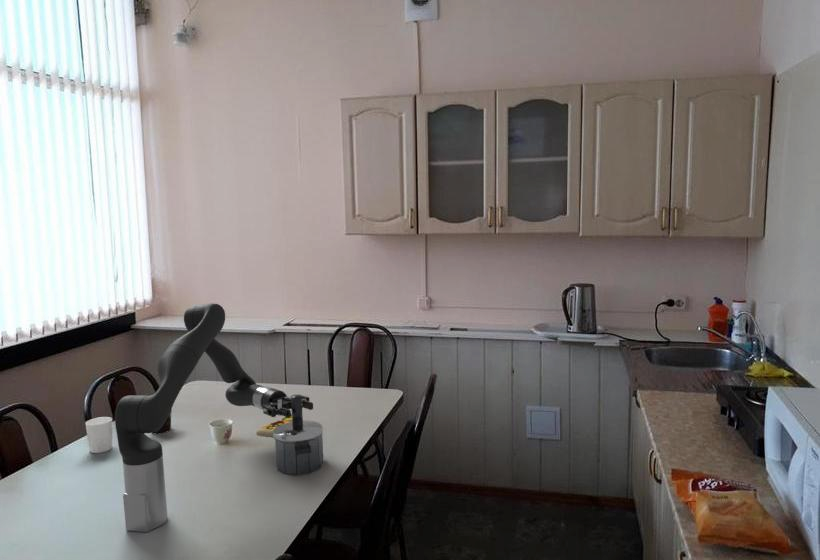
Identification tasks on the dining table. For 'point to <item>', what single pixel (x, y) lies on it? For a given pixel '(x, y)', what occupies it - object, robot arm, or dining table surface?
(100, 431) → the white cup
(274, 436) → the lid
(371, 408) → the dining table surface
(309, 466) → the pot
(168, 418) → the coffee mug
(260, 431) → the pizza slice
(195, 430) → the dining table surface
